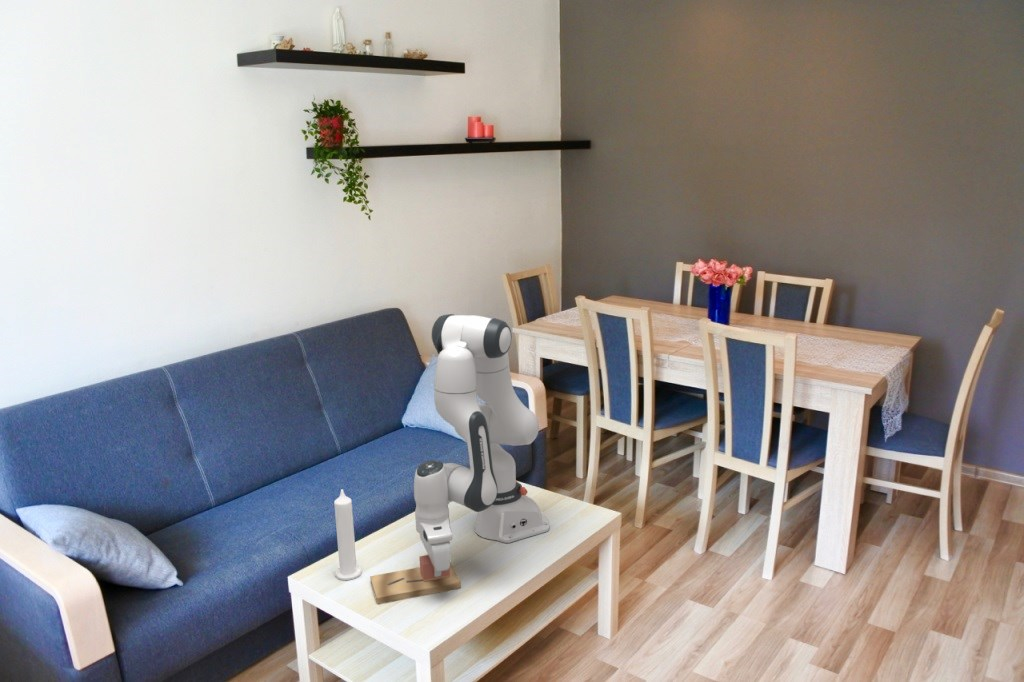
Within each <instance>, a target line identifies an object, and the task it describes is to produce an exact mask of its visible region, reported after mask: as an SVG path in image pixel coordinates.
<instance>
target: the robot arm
mask: <svg viewBox="0 0 1024 682" xmlns="http://www.w3.org/2000/svg"><path fill="white" fill-rule="evenodd" d="M431 341H432V343H433V346H434V348H435V350H436V353H437V354H438V355H437V360H436V363H435V364H436V365H435V373H434V380H433V381H434V382H433V385H434V386H433V388H434V389H433V401H434V406H435V410H436V412H437V414H438V415H439V416H440V417H441V419H443V421H445V422H446V423H448V424H449V425H450V426H451V427H452V428H454V430H455V433H456V434H457V435H458V436H459V437H460V438H462V440H464V441H465V443H466V445H467V451H468V458H469V467H466V466H464V465H460V464H458V463H455V462H454V463H453V462H443V461H440V460H436V459H432V460H427V461H424V462H422V463H420V464H419V465H418V466H417V467H416V470H415V472H414V473H415V474H414V478H413V479H414V481H413V498H414V502H415V505H416V507H415V511H414V517H415V530H416V532H417V533H418V534H419V539H420V541H421V543H422V546H424V549H425V551H426V555H428V556H429V558H430V560H431V562H432V564H433V567H434V568H433V571H434V575H435V577H438V576H441V571H446V570H448V569H449V567H450V562H451V541H452V540H453V533H452V529H451V521H450V508H449V504H450V503H453V502H454V503H456V504H459V505H462V506H464V507H465V508H468V509H469V510H471V511H474V512H476V513H477V518H476V522H475V526H474V532H475V533H476V534H477V535H478V536H479V537H480V538H481V537H482V538H483V539H486V540H487V539H488V540H492V541H498V542H501V543H503V544H504V543H505V544H509V543H514V542H516V541H520V540H522V539H526V538H529V537H532V536H536V535H540V534H543V533H546V532H548V531H550V521H549V520H548V518H547V517H546V516H545V514H544V513H542V511H541V509H540V508H541V507H540V505H538V503H537V502H536V501H535V500H534V499H532V498H531V497H529V496H528V495H527V494H528V489H526V487H524V486H523V485H522V484H521V483H520V482H518V481H517V480H516V477H517V476H516V474H517V472H516V471H517V469H516V461H515V459H514V457H513V456H512V455H511V454H510V453H509V452H508V451H506V450H505V449H504V448H503V447H502V446H501V445H506V446H525V445H531V444H532V443H533V442H534V441H535V439H536V438H537V437H538V435H539V430H540V423H539V420H538V417H537V415H536V414H535V413H534V412H533V411H532V410H531V409H529V408H528V407H527V406H526V405H524V403H523V402H522V401H521V400H520V398H519V397H518V395H517V393H516V391H515V389H514V386H513V381H512V376H511V370H510V369H511V368H510V358H509V353H508V352H509V349H510V348H511V344H512V330H511V328H510V326H509V325H508V323H507V322H506V321H504V320H502V319H499V318H496V317H495V318H490V317H487V316H483V315H475V314H471V315H468V314H467V315H466V314H454V313H453V314H452V313H450V314H443V315H440V316H438V317H437V319H435V321H434V323H433V325H432V329H431ZM478 399H480V400H482V401H483V402H485V403H481V402H479V401H478Z"/></svg>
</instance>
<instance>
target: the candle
mask: <svg viewBox="0 0 1024 682" xmlns="http://www.w3.org/2000/svg"><path fill="white" fill-rule="evenodd" d="M352 503H353V501H352V498H350V497H349V496H346V494H345V491H344V489H343V488H342V489H340V493H339V496H338V497H337V498H336V499H334V502H333V504H334V515H335V517H334V518H335V525H336V526H335V527H336V539H337V551H338V562H339V563H338V564H339V567H338V568H337V569H336V570H335V572H334V574H335V577H336V579H338V580H341V581H350V580H351V581H352V580H355V579H357V578H359V577H360V576H361V575H362V573H363V571H362V567H360V566H359V565H357V555H356V553H357V552H356V542H355V541H356V540H355V528H354V516H353V515H354V514H353V504H352Z"/></svg>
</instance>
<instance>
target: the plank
mask: <svg viewBox="0 0 1024 682" xmlns="http://www.w3.org/2000/svg"><path fill="white" fill-rule="evenodd" d="M369 577H370V578H369V579H370V584H371V587H372V591H373V594H374V597H375V601H376V603H377V605H380V604H381V605H382V604H386V603H392V602H396V601H401V600H407V599H411V598H417V597H421V596H426V595H432V594H437V593H441V592H442V593H443V592H448V591H453V590H457V589H461V588H462V584H461V583H462V582H461V580H460V578H459V576H458V574H457V572H456V569H455V568H454V566H453V564H452V562H451V561H450V577H447V578H441V579H436V580H431V581H426V582H424V581H423V578H422V576H421V573H420V566H419V567H413V568H408V569H403V570H398V571H397V570H396V571H391V572H385V573H381V574H374V575H371V576H369Z"/></svg>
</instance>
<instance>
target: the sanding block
mask: <svg viewBox="0 0 1024 682" xmlns="http://www.w3.org/2000/svg"><path fill="white" fill-rule="evenodd" d="M419 567H420V573H421V576H422V578H423V581H424V582H426V581H431V580H436V579H441V578H447V577H450V567H449V569H448V570H446V571H441V576H438V577H435V575H434V571H433V568H434V567H433V564H432V562H431V560H430V558H429V556H428V554H426V555H420V556H419Z"/></svg>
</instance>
